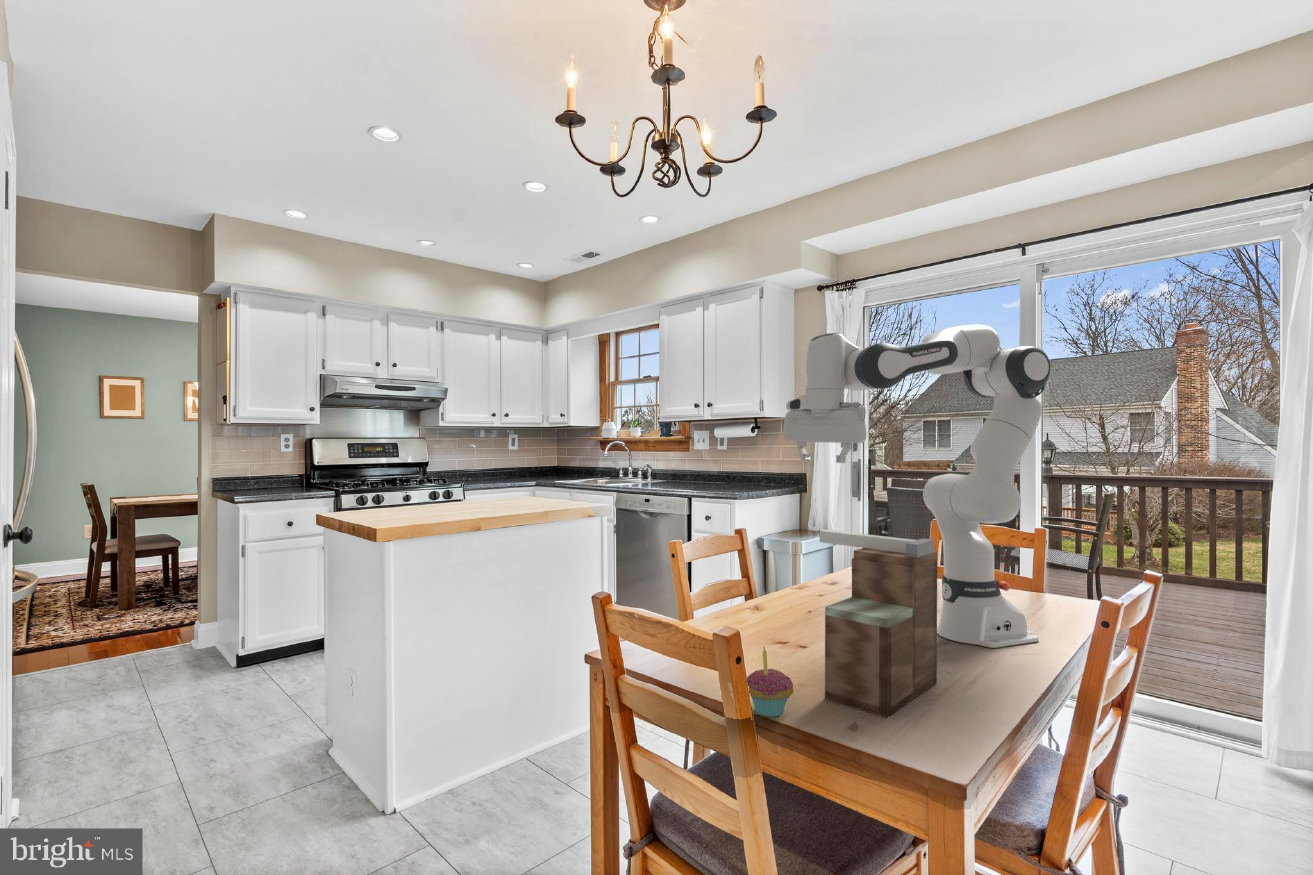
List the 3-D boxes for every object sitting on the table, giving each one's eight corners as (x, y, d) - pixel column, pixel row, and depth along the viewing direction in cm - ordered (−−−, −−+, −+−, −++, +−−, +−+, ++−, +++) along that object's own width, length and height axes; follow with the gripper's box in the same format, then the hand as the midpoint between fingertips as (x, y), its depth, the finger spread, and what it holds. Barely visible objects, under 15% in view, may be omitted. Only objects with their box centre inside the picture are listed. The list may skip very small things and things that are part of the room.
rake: (812, 543, 138) (812, 532, 138) (831, 539, 144) (831, 528, 144) (917, 557, 123) (917, 544, 123) (934, 551, 129) (934, 539, 129)
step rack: (824, 698, 122) (825, 558, 122) (878, 668, 138) (878, 543, 138) (887, 717, 114) (887, 567, 114) (936, 683, 130) (937, 551, 130)
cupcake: (782, 725, 111) (782, 654, 111) (736, 714, 115) (736, 645, 115) (800, 707, 118) (800, 640, 118) (756, 697, 123) (756, 633, 122)
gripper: (872, 402, 149) (870, 464, 149) (795, 404, 163) (794, 460, 163) (858, 401, 144) (856, 464, 144) (780, 402, 159) (778, 460, 159)
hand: (822, 462), depth 154 cm, fingers open, 8 cm apart
